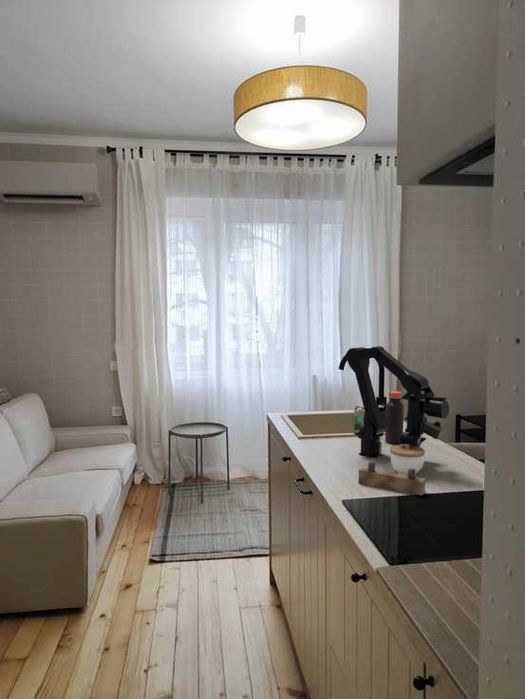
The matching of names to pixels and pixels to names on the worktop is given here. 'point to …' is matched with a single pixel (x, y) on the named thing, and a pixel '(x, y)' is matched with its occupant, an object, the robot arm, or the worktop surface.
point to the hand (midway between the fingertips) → (414, 459)
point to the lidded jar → (406, 458)
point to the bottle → (394, 417)
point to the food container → (358, 418)
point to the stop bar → (392, 480)
